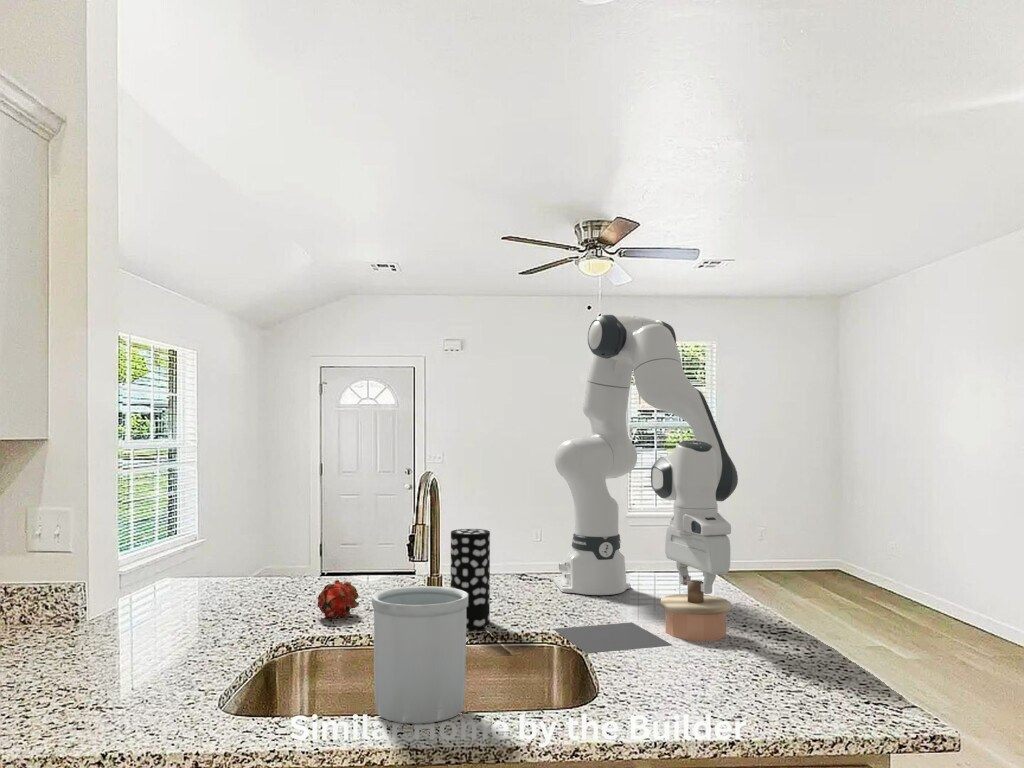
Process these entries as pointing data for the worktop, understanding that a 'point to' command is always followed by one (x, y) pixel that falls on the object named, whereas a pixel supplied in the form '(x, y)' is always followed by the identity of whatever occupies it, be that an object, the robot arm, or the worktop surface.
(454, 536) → the white-spotted black cylinder
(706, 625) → the bowl
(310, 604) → the worktop surface
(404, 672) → the utensil holder
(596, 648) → the mat
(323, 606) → the dragon fruit
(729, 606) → the lid
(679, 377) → the robot arm
